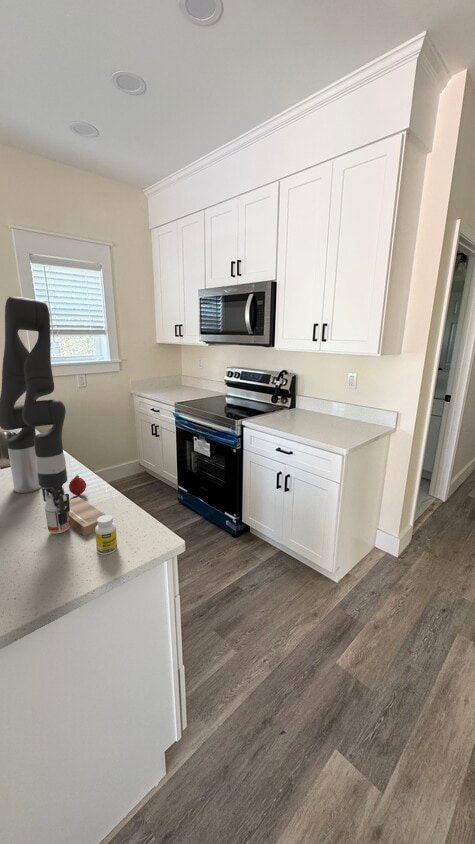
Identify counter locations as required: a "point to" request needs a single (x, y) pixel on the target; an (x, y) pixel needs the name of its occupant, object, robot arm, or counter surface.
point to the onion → (77, 486)
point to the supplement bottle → (105, 535)
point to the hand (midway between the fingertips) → (58, 519)
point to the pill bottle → (54, 517)
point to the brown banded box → (83, 516)
